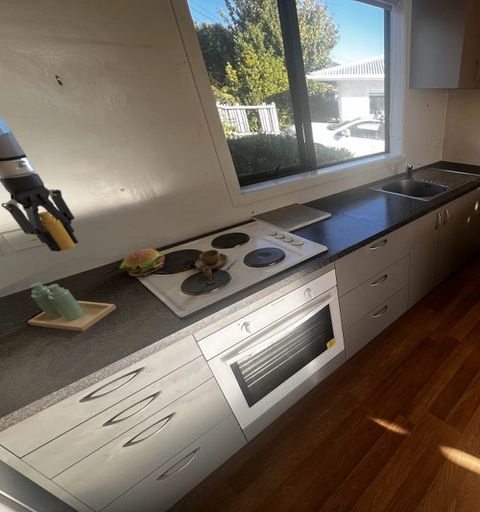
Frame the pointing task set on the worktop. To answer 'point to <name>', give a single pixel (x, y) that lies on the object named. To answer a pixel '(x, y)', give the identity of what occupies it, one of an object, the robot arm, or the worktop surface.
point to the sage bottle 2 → (64, 303)
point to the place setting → (211, 262)
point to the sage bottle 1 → (44, 300)
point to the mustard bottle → (56, 231)
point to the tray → (91, 316)
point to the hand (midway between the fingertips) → (65, 246)
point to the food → (143, 262)
